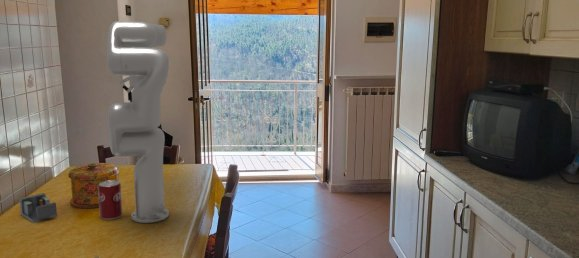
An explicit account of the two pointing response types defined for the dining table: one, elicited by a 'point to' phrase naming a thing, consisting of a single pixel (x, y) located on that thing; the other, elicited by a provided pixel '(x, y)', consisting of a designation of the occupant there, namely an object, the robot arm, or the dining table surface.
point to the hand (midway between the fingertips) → (143, 102)
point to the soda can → (110, 200)
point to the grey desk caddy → (33, 206)
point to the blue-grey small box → (45, 210)
